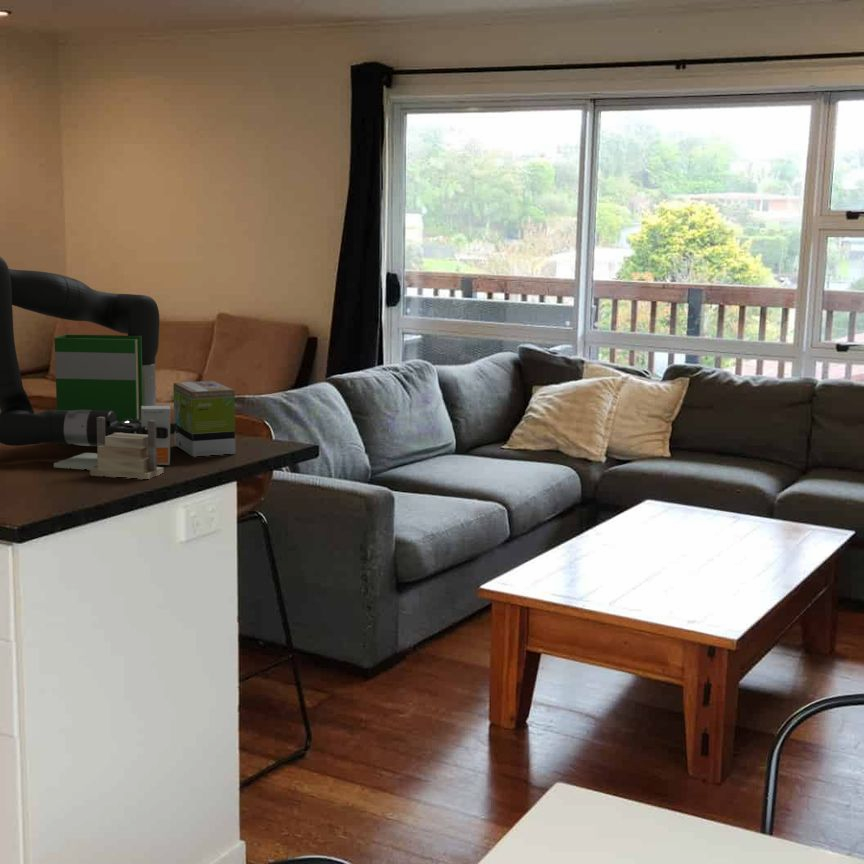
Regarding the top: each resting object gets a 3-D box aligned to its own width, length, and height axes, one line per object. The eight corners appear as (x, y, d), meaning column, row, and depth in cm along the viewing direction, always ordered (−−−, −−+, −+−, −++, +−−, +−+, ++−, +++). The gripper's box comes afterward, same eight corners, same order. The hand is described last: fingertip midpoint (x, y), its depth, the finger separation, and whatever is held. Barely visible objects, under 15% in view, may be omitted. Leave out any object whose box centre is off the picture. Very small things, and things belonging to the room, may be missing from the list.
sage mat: (85, 456, 259) (85, 452, 259) (124, 459, 257) (124, 455, 257) (53, 467, 247) (53, 463, 247) (94, 470, 245) (94, 466, 245)
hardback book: (143, 438, 280) (141, 335, 276) (137, 445, 273) (134, 340, 268) (66, 437, 280) (63, 334, 275) (58, 444, 273) (54, 338, 268)
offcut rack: (107, 469, 246) (106, 414, 244) (163, 473, 244) (163, 418, 242) (90, 475, 240) (88, 419, 238) (147, 479, 237) (147, 423, 235)
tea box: (172, 446, 274) (172, 381, 272) (215, 443, 279) (215, 380, 276) (191, 458, 261) (191, 389, 258) (236, 455, 265) (236, 388, 263)
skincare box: (140, 465, 250) (140, 408, 248) (140, 461, 254) (140, 405, 252) (170, 465, 252) (170, 408, 250) (170, 461, 256) (170, 405, 254)
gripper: (78, 415, 245) (161, 418, 244) (101, 405, 259) (179, 408, 258) (79, 451, 246) (162, 454, 245) (101, 439, 260) (180, 442, 260)
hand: (170, 430), depth 252 cm, fingers closed on skincare box, 5 cm apart
